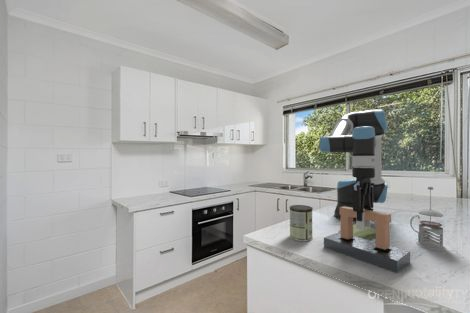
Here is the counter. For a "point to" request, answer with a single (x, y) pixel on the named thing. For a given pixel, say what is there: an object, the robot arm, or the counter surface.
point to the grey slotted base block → (368, 252)
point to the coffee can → (301, 222)
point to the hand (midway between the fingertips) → (363, 228)
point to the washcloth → (364, 233)
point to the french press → (426, 240)
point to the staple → (378, 217)
